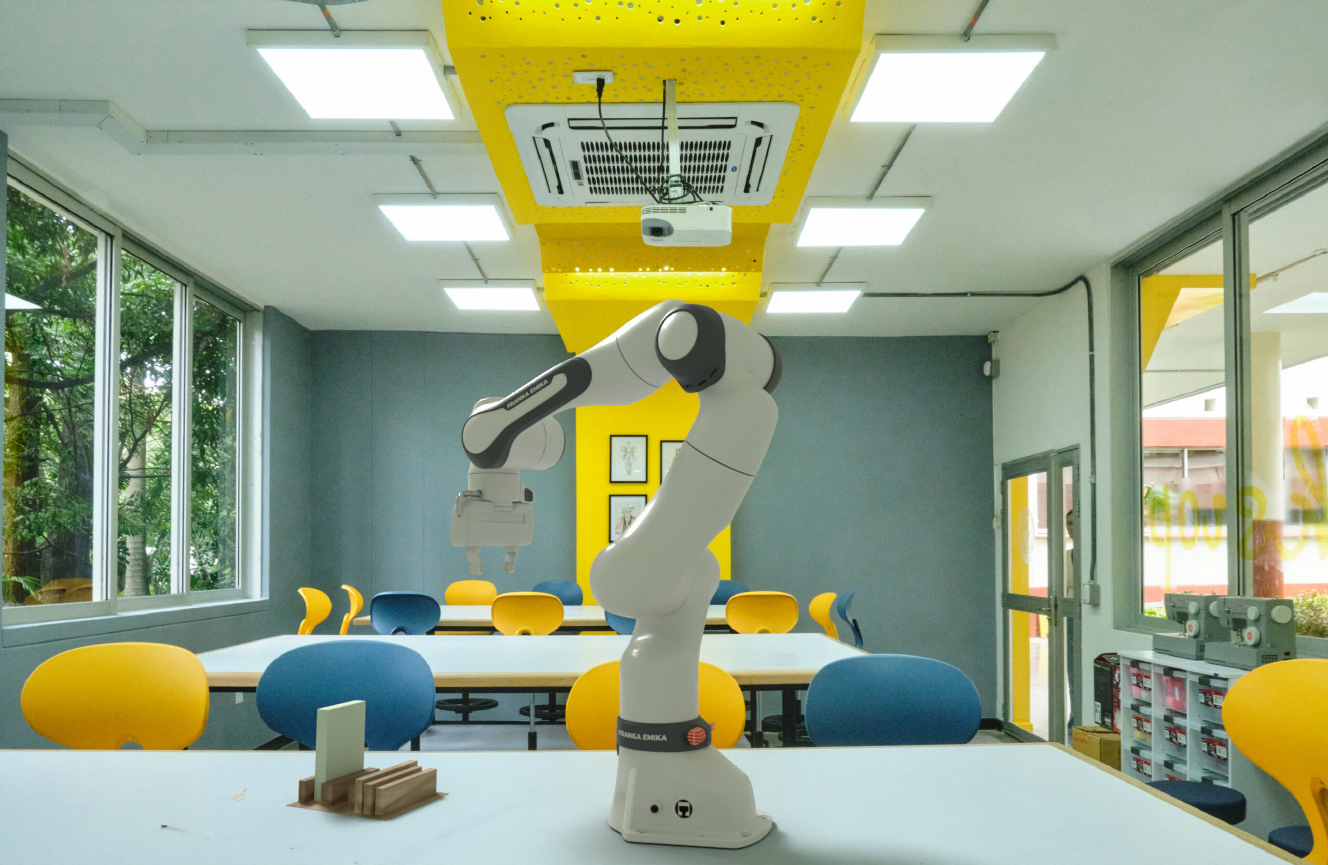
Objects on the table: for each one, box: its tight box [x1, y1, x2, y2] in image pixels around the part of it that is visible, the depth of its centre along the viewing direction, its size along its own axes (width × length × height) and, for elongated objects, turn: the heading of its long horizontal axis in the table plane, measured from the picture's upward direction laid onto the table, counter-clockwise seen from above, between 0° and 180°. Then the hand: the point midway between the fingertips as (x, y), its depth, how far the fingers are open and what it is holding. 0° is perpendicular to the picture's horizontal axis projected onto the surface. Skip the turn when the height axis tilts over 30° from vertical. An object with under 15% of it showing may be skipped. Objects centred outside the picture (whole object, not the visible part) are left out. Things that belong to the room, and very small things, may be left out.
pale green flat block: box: [314, 699, 366, 802], centre depth 138 cm, size 2×8×13 cm, turn 157°
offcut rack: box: [285, 759, 450, 821], centre depth 134 cm, size 18×14×6 cm
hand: (492, 573), depth 156 cm, fingers open, 8 cm apart
